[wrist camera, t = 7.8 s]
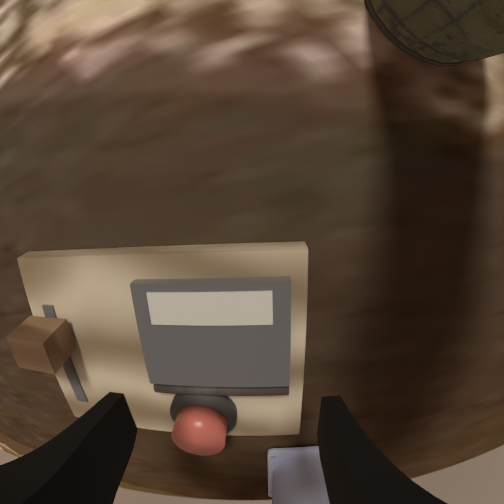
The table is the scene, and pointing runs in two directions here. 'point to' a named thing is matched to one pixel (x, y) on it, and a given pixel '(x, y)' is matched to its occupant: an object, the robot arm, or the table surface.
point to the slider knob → (41, 344)
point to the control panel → (127, 336)
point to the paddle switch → (215, 330)
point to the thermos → (442, 28)
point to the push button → (199, 430)
